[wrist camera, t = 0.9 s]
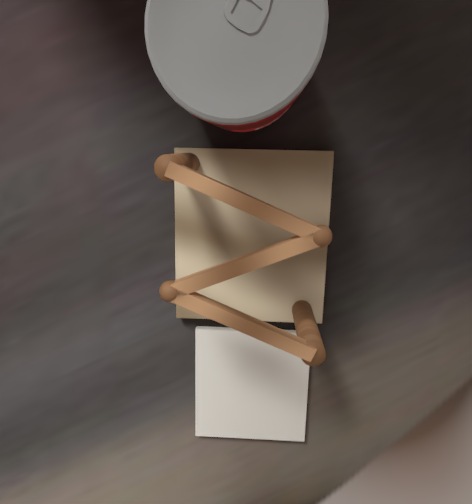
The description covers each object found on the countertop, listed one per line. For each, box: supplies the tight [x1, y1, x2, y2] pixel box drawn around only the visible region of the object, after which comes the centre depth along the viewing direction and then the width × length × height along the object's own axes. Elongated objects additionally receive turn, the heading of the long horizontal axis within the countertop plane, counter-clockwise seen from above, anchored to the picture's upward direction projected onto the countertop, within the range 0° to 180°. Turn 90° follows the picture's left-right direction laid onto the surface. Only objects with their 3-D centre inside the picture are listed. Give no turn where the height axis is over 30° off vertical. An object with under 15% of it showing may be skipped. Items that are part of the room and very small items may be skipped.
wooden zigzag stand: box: [154, 148, 334, 366], centre depth 27 cm, size 12×10×8 cm
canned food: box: [144, 0, 329, 132], centre depth 23 cm, size 8×8×11 cm
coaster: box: [195, 326, 309, 442], centre depth 33 cm, size 9×8×1 cm
